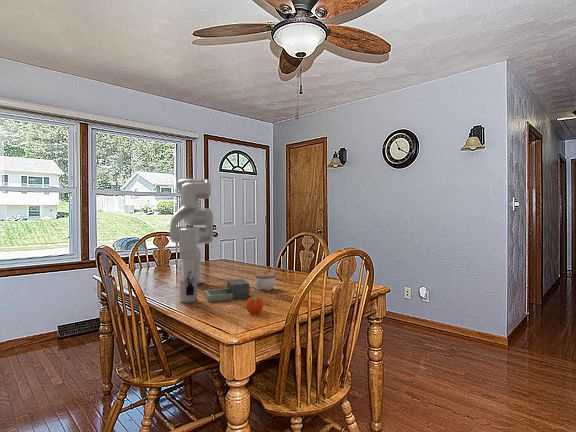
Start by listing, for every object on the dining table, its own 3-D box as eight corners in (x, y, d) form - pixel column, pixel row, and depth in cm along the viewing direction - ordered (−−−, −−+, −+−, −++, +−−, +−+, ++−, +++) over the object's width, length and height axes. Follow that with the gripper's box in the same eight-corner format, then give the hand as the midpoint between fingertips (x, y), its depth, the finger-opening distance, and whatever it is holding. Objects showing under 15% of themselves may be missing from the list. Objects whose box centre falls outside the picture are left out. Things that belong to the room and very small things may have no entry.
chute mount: (204, 296, 173) (204, 282, 173) (242, 292, 181) (242, 278, 180) (208, 302, 162) (208, 287, 162) (249, 298, 169) (249, 283, 169)
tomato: (264, 316, 141) (264, 298, 141) (247, 317, 140) (246, 299, 140) (261, 310, 149) (261, 293, 149) (245, 311, 148) (244, 294, 147)
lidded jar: (277, 287, 193) (277, 269, 193) (274, 291, 182) (274, 273, 182) (257, 286, 194) (257, 269, 194) (253, 291, 183) (253, 273, 183)
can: (192, 303, 160) (192, 276, 160) (177, 302, 162) (176, 276, 162) (200, 299, 168) (199, 273, 168) (185, 298, 169) (184, 273, 169)
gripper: (177, 253, 171) (178, 289, 171) (181, 258, 155) (182, 297, 155) (194, 252, 174) (194, 288, 174) (199, 257, 158) (199, 296, 158)
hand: (188, 292), depth 165 cm, fingers open, 9 cm apart
